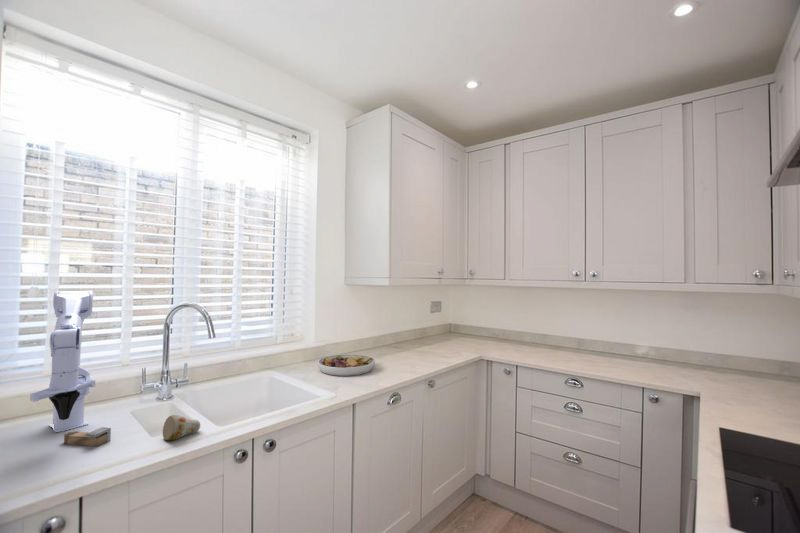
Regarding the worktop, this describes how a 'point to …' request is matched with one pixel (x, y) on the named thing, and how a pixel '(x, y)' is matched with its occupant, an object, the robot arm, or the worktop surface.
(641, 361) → the worktop surface
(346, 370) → the bowl
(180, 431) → the grey-brown rounded piece
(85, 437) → the link
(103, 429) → the bracket
